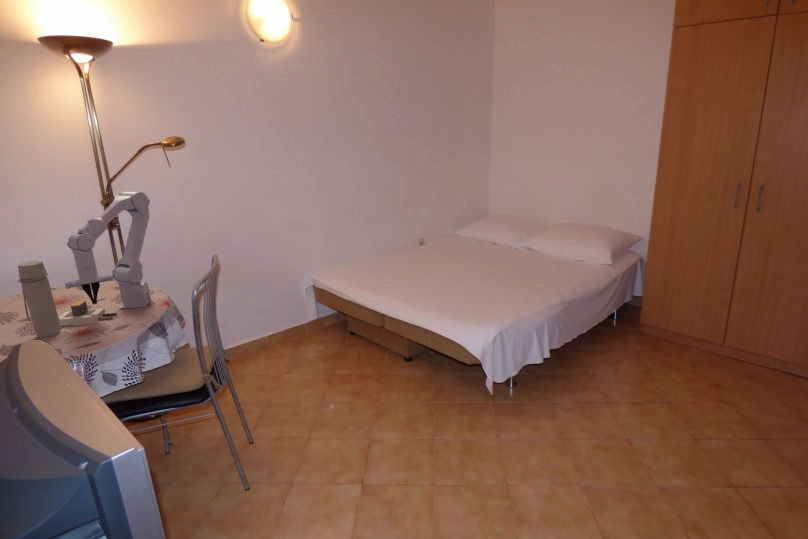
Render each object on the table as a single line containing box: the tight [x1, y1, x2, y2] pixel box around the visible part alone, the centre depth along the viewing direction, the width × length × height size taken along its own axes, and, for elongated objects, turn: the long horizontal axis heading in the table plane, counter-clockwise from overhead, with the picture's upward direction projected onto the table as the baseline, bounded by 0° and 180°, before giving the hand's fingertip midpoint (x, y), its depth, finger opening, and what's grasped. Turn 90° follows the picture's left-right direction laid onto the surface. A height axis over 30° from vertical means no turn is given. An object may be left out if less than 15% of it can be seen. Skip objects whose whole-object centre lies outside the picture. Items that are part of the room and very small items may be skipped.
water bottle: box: [17, 260, 62, 339], centre depth 161 cm, size 9×8×25 cm
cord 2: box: [102, 312, 117, 317], centre depth 178 cm, size 5×1×1 cm, turn 99°
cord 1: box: [98, 316, 114, 321], centre depth 175 cm, size 5×1×1 cm, turn 99°
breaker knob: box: [70, 300, 89, 316], centre depth 174 cm, size 3×4×4 cm, turn 9°
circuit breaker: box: [58, 308, 106, 327], centre depth 175 cm, size 13×8×3 cm, turn 99°
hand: (94, 303), depth 175 cm, fingers closed
